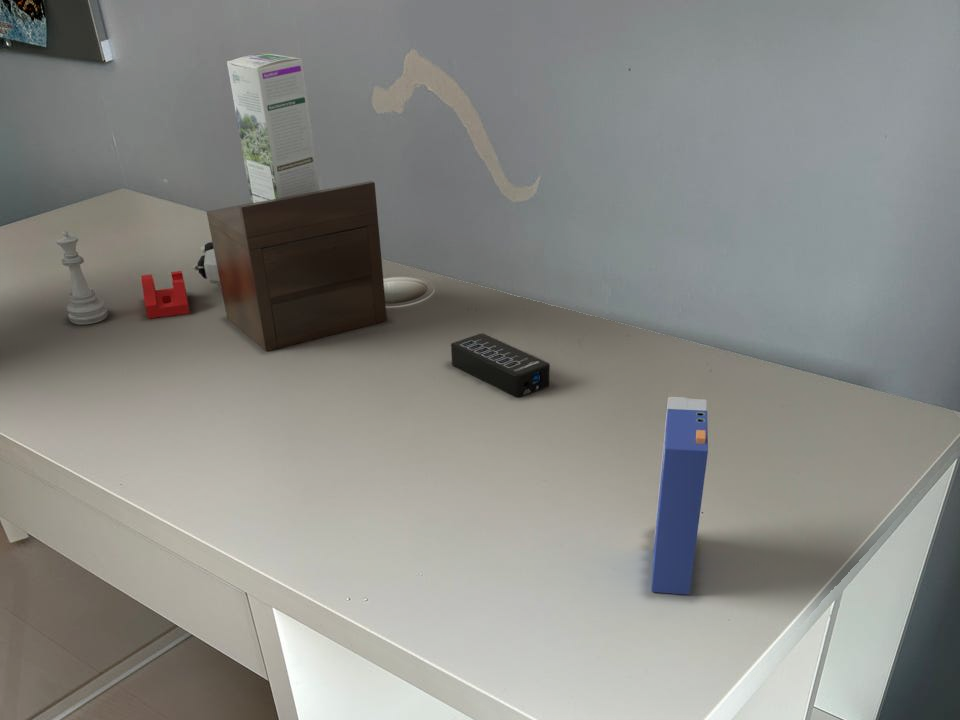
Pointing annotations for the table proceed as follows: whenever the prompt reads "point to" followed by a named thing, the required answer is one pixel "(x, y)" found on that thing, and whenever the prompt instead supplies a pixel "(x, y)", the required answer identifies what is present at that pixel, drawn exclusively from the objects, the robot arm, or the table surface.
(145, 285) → the bracket
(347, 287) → the wooden drawer cabinet
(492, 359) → the multiport hub
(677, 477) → the walkman
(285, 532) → the table surface
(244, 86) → the syrup box
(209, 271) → the robot toy
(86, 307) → the chess piece
